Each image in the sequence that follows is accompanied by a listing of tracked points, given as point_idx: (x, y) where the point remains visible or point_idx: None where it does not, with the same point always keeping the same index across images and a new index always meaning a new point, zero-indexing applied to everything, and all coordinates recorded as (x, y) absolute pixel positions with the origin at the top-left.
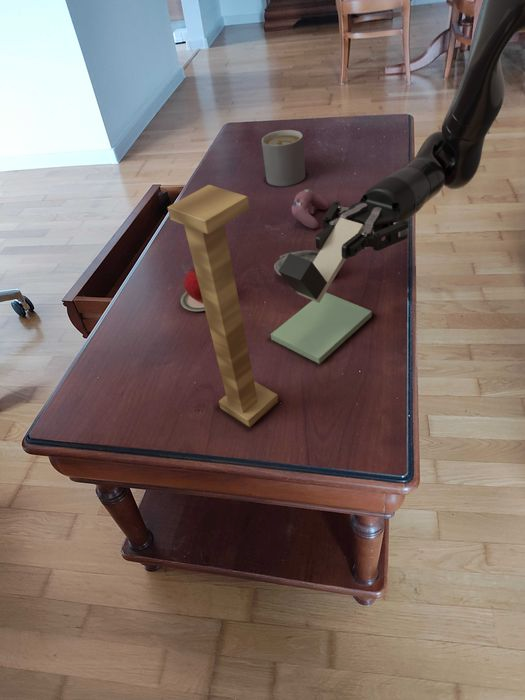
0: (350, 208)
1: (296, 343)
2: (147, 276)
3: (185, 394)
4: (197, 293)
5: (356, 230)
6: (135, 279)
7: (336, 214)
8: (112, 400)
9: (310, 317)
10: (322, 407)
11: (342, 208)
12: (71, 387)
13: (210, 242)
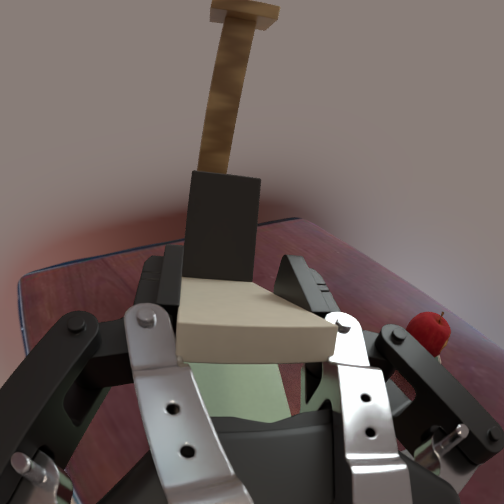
0: (428, 473)
1: None
2: (474, 338)
3: (264, 266)
4: (408, 324)
5: (192, 310)
6: (471, 329)
7: (430, 423)
8: (303, 244)
9: (258, 418)
10: (119, 304)
11: (460, 466)
12: (338, 242)
13: (220, 37)
